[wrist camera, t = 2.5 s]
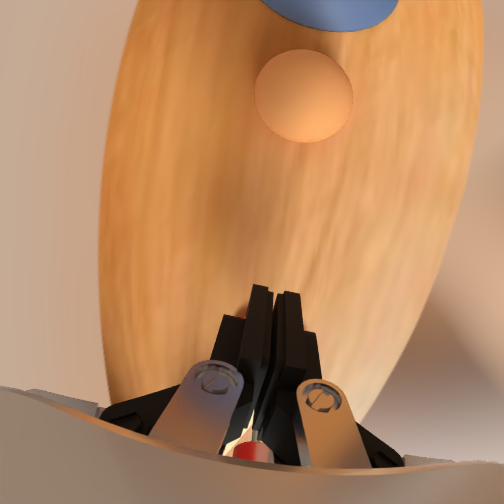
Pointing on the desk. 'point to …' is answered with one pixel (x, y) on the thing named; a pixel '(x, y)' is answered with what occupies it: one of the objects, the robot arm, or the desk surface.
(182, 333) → the desk surface
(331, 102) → the ball
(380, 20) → the mark
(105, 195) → the desk surface
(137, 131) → the desk surface
